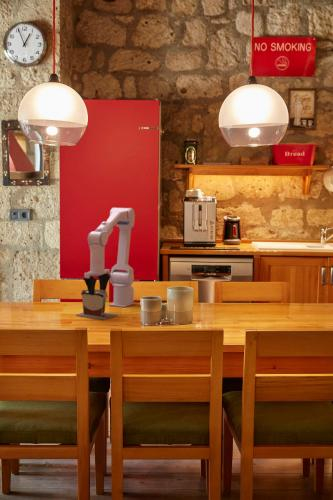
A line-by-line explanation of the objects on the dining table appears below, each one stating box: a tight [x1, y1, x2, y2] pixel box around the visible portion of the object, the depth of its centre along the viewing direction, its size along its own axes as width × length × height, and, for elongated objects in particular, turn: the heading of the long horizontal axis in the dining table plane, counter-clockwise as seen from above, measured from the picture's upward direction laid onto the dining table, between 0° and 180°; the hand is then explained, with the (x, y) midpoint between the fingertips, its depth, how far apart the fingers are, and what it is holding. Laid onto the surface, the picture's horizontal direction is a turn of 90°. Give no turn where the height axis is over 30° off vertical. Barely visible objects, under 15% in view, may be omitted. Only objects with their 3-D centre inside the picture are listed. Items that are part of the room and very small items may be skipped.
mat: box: [75, 312, 119, 321], centre depth 229 cm, size 10×14×1 cm
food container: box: [80, 288, 109, 317], centre depth 229 cm, size 12×6×10 cm, turn 60°
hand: (97, 293), depth 228 cm, fingers open, 7 cm apart
